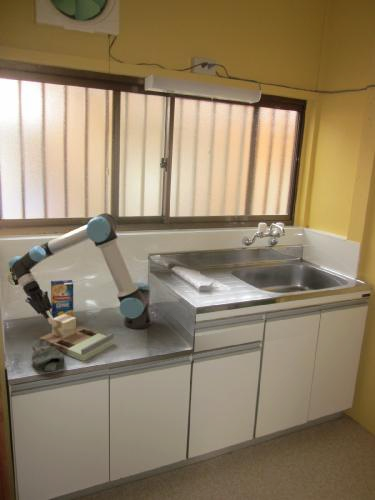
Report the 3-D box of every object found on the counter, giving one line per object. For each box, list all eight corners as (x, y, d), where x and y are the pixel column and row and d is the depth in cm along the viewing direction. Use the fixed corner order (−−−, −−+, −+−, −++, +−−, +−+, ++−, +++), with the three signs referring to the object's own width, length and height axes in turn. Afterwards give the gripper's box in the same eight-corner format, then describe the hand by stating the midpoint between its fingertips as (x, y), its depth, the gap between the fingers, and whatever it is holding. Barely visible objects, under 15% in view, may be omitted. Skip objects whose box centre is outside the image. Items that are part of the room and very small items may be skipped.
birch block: (52, 334, 206) (52, 318, 204) (64, 328, 213) (64, 313, 211) (63, 338, 202) (63, 323, 200) (75, 332, 209) (76, 317, 207)
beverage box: (73, 322, 228) (73, 284, 222) (52, 324, 224) (51, 285, 218) (72, 317, 234) (72, 280, 229) (51, 319, 230) (50, 281, 224)
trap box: (39, 343, 202) (39, 337, 201) (71, 328, 220) (71, 323, 219) (67, 354, 193) (67, 348, 192) (98, 338, 211) (98, 333, 210)
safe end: (67, 354, 193) (67, 343, 192) (98, 338, 211) (98, 328, 210) (82, 361, 189) (83, 349, 187) (113, 344, 206) (113, 333, 205)
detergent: (68, 369, 181) (54, 344, 201) (66, 355, 179) (53, 330, 199) (36, 378, 175) (26, 351, 195) (34, 363, 172) (24, 337, 193)
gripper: (36, 284, 221) (59, 322, 218) (15, 291, 210) (38, 330, 206) (42, 277, 218) (66, 315, 214) (21, 283, 207) (46, 323, 203)
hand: (52, 322), depth 210 cm, fingers closed
